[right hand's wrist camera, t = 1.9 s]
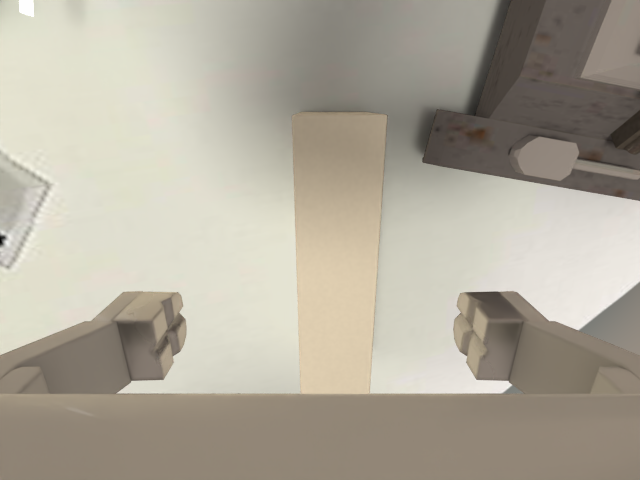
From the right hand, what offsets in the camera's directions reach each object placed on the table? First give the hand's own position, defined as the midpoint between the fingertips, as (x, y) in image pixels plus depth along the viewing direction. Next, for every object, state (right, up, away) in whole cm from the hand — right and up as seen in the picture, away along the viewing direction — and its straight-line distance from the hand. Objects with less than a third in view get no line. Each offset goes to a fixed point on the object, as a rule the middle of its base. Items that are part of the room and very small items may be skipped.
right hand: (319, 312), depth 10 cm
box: (+1, +1, +26) cm, 26 cm away
